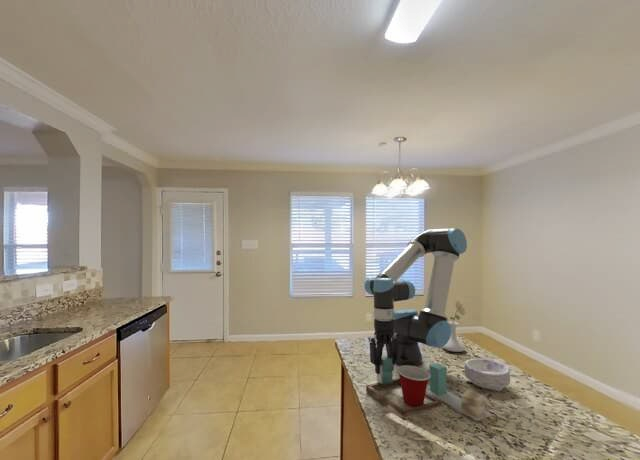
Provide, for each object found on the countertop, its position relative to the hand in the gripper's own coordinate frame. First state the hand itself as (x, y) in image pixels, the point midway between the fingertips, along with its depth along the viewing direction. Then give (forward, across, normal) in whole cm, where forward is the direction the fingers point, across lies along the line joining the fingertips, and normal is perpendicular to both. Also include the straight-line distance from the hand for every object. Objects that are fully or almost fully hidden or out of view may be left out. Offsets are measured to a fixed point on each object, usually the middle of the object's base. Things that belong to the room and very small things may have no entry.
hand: (384, 380), depth 114 cm
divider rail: (+3, +9, -21) cm, 23 cm away
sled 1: (+2, 0, -9) cm, 9 cm away
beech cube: (+1, +14, -27) cm, 31 cm away
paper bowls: (+3, +36, -16) cm, 40 cm away
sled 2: (+3, +14, -21) cm, 25 cm away
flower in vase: (+3, +58, +17) cm, 60 cm away
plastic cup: (+3, 0, -15) cm, 15 cm away
